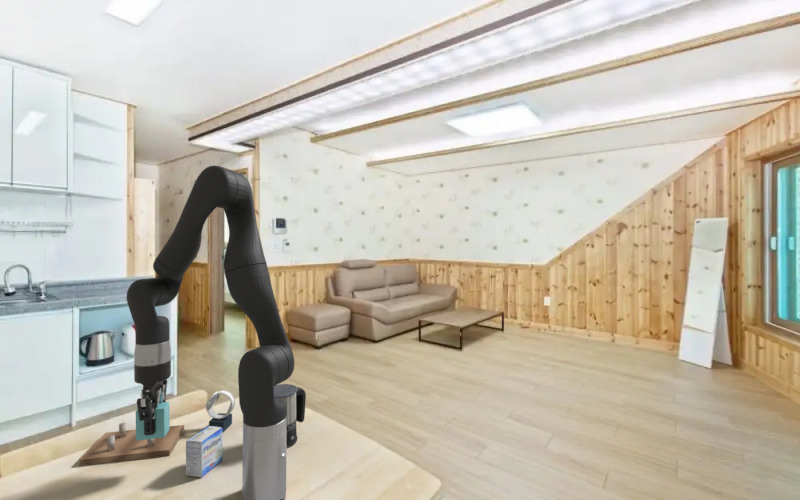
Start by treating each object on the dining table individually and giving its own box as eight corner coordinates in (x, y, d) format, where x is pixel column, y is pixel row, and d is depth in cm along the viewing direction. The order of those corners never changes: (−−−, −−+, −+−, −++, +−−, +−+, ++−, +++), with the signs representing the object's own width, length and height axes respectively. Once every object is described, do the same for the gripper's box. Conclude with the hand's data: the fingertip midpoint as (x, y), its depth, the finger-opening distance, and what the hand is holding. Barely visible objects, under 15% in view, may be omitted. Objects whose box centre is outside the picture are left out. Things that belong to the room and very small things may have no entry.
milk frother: (288, 452, 103) (288, 397, 103) (234, 446, 106) (234, 392, 105) (309, 427, 117) (309, 379, 117) (261, 422, 120) (261, 375, 119)
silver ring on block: (211, 423, 119) (212, 387, 118) (237, 423, 118) (238, 388, 118) (202, 432, 113) (202, 394, 113) (229, 432, 113) (229, 395, 113)
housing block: (169, 429, 97) (169, 401, 96) (164, 437, 93) (164, 408, 93) (142, 432, 95) (142, 404, 95) (135, 440, 91) (135, 411, 91)
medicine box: (201, 478, 91) (201, 442, 91) (185, 476, 92) (185, 440, 92) (223, 460, 99) (223, 426, 99) (207, 457, 100) (208, 424, 100)
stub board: (184, 429, 114) (184, 413, 114) (169, 455, 101) (169, 436, 100) (105, 437, 109) (105, 420, 109) (78, 465, 95) (78, 446, 95)
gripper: (160, 367, 88) (161, 442, 88) (178, 351, 101) (178, 415, 102) (122, 370, 86) (123, 446, 86) (146, 353, 99) (146, 418, 100)
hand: (153, 429), depth 94 cm, fingers closed on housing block, 4 cm apart
